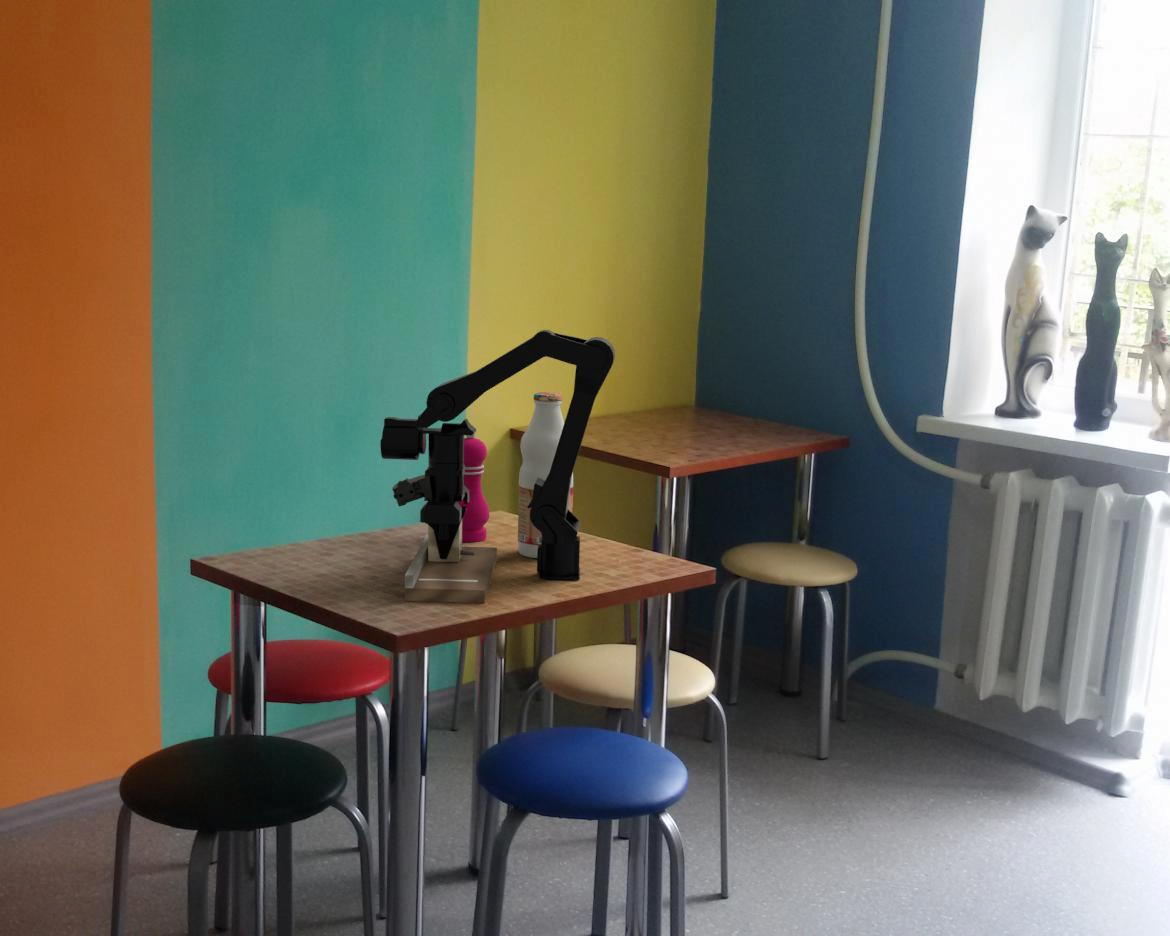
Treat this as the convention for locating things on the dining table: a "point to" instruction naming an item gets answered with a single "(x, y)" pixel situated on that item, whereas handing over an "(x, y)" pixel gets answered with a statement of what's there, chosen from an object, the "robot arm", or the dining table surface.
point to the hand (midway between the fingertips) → (445, 554)
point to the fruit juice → (538, 464)
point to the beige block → (454, 551)
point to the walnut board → (450, 576)
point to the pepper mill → (474, 491)
